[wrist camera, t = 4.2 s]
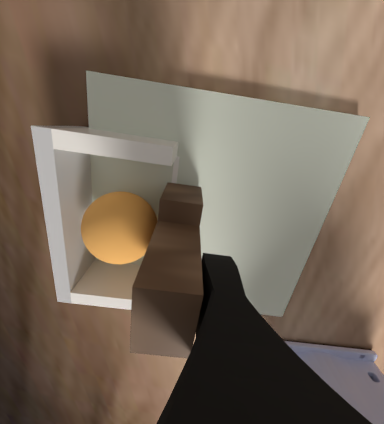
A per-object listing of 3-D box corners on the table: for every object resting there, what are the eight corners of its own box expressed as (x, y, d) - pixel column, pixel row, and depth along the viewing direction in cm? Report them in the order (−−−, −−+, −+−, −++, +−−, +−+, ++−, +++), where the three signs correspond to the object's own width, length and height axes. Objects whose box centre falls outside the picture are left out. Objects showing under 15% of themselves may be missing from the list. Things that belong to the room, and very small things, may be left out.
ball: (125, 216, 8) (58, 192, 9) (124, 292, 10) (66, 261, 11) (174, 194, 12) (119, 178, 13) (167, 252, 13) (119, 233, 14)
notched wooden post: (201, 187, 12) (210, 263, 5) (189, 256, 14) (185, 378, 7) (167, 182, 12) (133, 253, 5) (160, 253, 14) (129, 372, 7)
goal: (179, 141, 12) (173, 147, 8) (165, 269, 16) (156, 312, 12) (81, 125, 12) (30, 125, 8) (89, 260, 16) (57, 301, 12)
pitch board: (358, 117, 12) (370, 117, 11) (278, 308, 17) (282, 317, 17) (93, 74, 11) (85, 70, 10) (101, 288, 17) (96, 296, 16)
